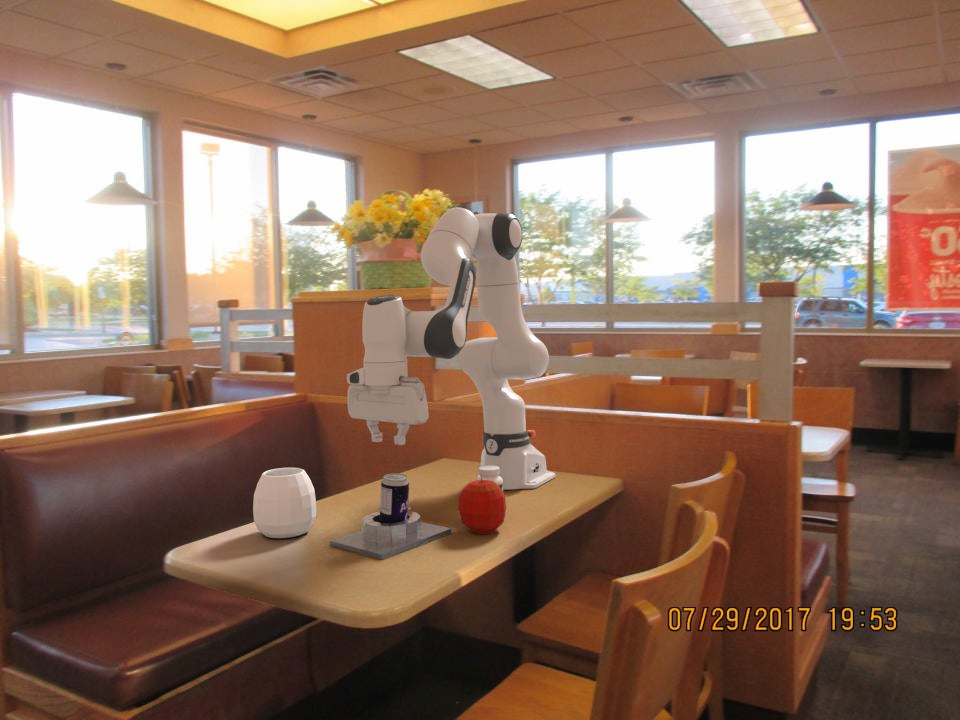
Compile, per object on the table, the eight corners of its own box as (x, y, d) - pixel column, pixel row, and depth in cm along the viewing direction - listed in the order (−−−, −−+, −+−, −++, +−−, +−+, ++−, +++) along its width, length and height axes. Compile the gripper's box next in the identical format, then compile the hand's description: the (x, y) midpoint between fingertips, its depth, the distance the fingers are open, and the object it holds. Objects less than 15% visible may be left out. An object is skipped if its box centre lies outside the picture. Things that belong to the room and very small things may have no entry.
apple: (501, 522, 165) (500, 470, 164) (511, 536, 155) (510, 480, 155) (456, 526, 164) (454, 473, 163) (462, 540, 154) (461, 484, 153)
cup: (294, 545, 153) (291, 480, 152) (241, 540, 158) (237, 477, 157) (329, 527, 165) (326, 466, 164) (278, 522, 170) (275, 463, 169)
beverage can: (402, 539, 152) (404, 482, 150) (375, 536, 153) (377, 478, 151) (409, 530, 157) (412, 474, 156) (383, 526, 158) (386, 471, 157)
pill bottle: (476, 519, 168) (475, 471, 167) (475, 512, 174) (474, 465, 173) (504, 518, 168) (503, 470, 167) (502, 511, 174) (501, 464, 173)
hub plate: (400, 521, 168) (399, 498, 168) (451, 533, 158) (450, 508, 158) (330, 545, 152) (329, 519, 152) (381, 559, 143) (380, 532, 143)
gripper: (434, 376, 149) (436, 445, 150) (363, 372, 162) (366, 436, 163) (411, 379, 144) (414, 450, 145) (341, 375, 157) (343, 441, 158)
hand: (388, 443), depth 154 cm, fingers open, 5 cm apart
